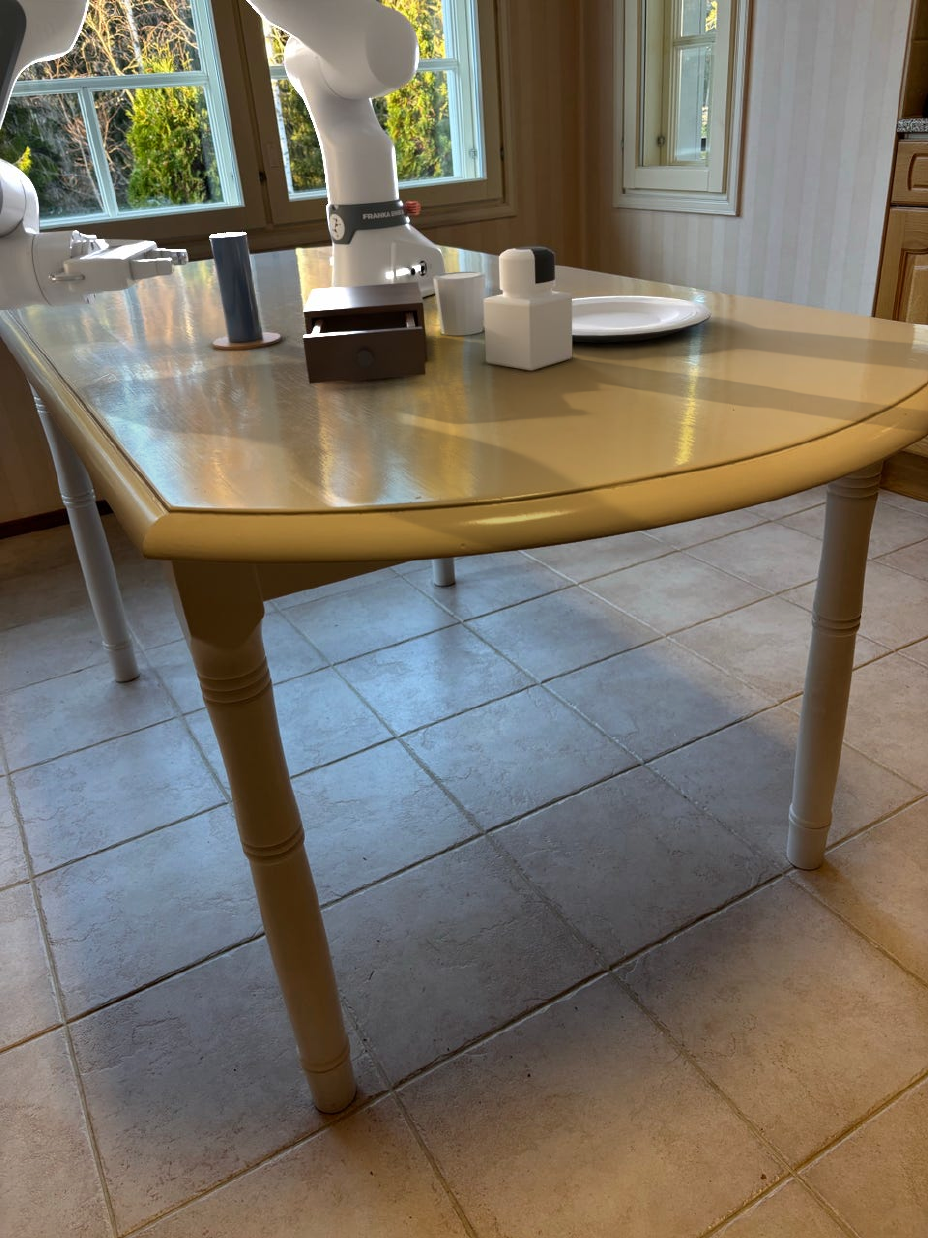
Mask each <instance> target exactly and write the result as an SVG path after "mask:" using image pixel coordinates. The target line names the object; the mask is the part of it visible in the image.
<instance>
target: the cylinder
mask: <svg viewBox="0 0 928 1238" xmlns="http://www.w3.org/2000/svg"><path fill="white" fill-rule="evenodd" d="M209 240H210V245H211V246H210V247H211V252H212V253H211V254H212V257H213V264H214V267H215V268H214V270H215V273H216V274H215V275H216V280H217V286H218V290H219V292H218V293H219V296H220V297H219V298H220V302H221V309H222V313H223V321H224V324H225V325H224V326H225V331H226V336H228V341H229V342H232V343H247V342H253V341H258V340H260V339H262V338H263V334H262V332H263V329H262V322H261V321H262V320H261V315H260V310H259V304H258V298H257V292H256V285H255V279H254V272H253V266H252V260H251V259H252V258H251V254H250V247H249V242H248V236H247V233H246V232H226V233H225V232H224V233H217V234H211V235H210V236H209Z"/></svg>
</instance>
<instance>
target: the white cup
mask: <svg viewBox="0 0 928 1238" xmlns="http://www.w3.org/2000/svg"><path fill="white" fill-rule="evenodd" d="M433 281H434V288H435V300H436V308H437V313H438V319H439V325H440V326H439V327H440V334H443V335H445V336H468V335H475V334H479V333H481V332H483V331H484V299H485V293H486V292H485V291H486V273H484V272H480V271H479V272H477V271H454V272H453V271H452V272H446V274H441V275H437V276H435V277H433Z"/></svg>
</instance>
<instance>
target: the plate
mask: <svg viewBox="0 0 928 1238" xmlns="http://www.w3.org/2000/svg"><path fill="white" fill-rule="evenodd" d="M711 315H712V311H711V310H710V309H709V308H708V307H707V306H705V305H703V304H700V303H697V302H696V301H690V300H686V299H680V298H674V297H673V298H672V297H663V296H648V295H647V296H644V295H610V296H609V295H608V296H607V295H605V296H590V297H578V298H572V342H576V343H593V344H594V343H595V344H596V343H599V344H600V343H601V344H604V343H605V344H607V343H609V344H611V343H629V342H637V341H638V342H639V341H648V340H652V339H658V338H662V337H666V336H670V335H674V334H676V333H678V332H680V331H684V330H687V329H690V328H693V327H697V326H699V325H701V324H703V323H705V322H707V321H708V320H709V319H710V317H711Z"/></svg>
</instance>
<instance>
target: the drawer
mask: <svg viewBox="0 0 928 1238" xmlns="http://www.w3.org/2000/svg"><path fill="white" fill-rule="evenodd" d="M302 341H303V347H304V354H305V362H306V363H305V364H306V369H307V377H308V383H309V384H324V383H337V382H349V381H351V382H352V381H361V380H362V381H363V380H364V381H365V380H376V379H388V378H390V379H391V378H401V377H402V378H403V377H414V376H415V377H416V376H425V375H426V374H427V372H426V361H425V357H424V344H423V331H422V327H415V324H414V318H413V312H412V311H399V312H385V313H371V314H358V315H344V316H330V317H317V320H316V323H315V326H314V329H313V332H312V335H307V334H304V335H303V337H302Z"/></svg>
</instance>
